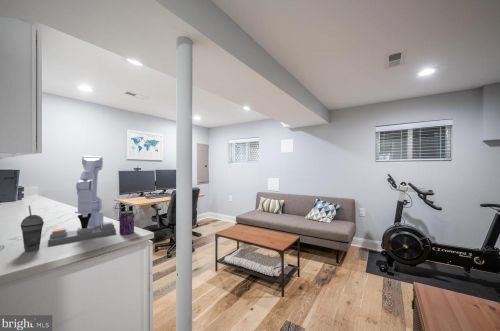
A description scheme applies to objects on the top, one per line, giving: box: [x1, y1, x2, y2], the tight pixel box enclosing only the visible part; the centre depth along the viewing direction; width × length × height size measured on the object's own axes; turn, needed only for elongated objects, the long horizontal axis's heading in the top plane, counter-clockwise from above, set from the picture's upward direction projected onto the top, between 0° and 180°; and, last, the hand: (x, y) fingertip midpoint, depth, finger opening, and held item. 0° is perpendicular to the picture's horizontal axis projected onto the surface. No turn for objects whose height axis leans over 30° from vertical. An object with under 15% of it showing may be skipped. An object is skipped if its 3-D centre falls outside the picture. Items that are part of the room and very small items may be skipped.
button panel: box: [47, 222, 117, 247], centre depth 109 cm, size 27×11×4 cm, turn 130°
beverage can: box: [118, 210, 135, 235], centre depth 115 cm, size 7×7×12 cm
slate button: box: [102, 221, 113, 226], centre depth 116 cm, size 4×4×2 cm
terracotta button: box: [53, 227, 65, 234], centre depth 103 cm, size 4×4×2 cm
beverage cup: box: [20, 205, 45, 253], centre depth 91 cm, size 7×7×20 cm
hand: (84, 227), depth 109 cm, fingers closed, pressing on sage button
